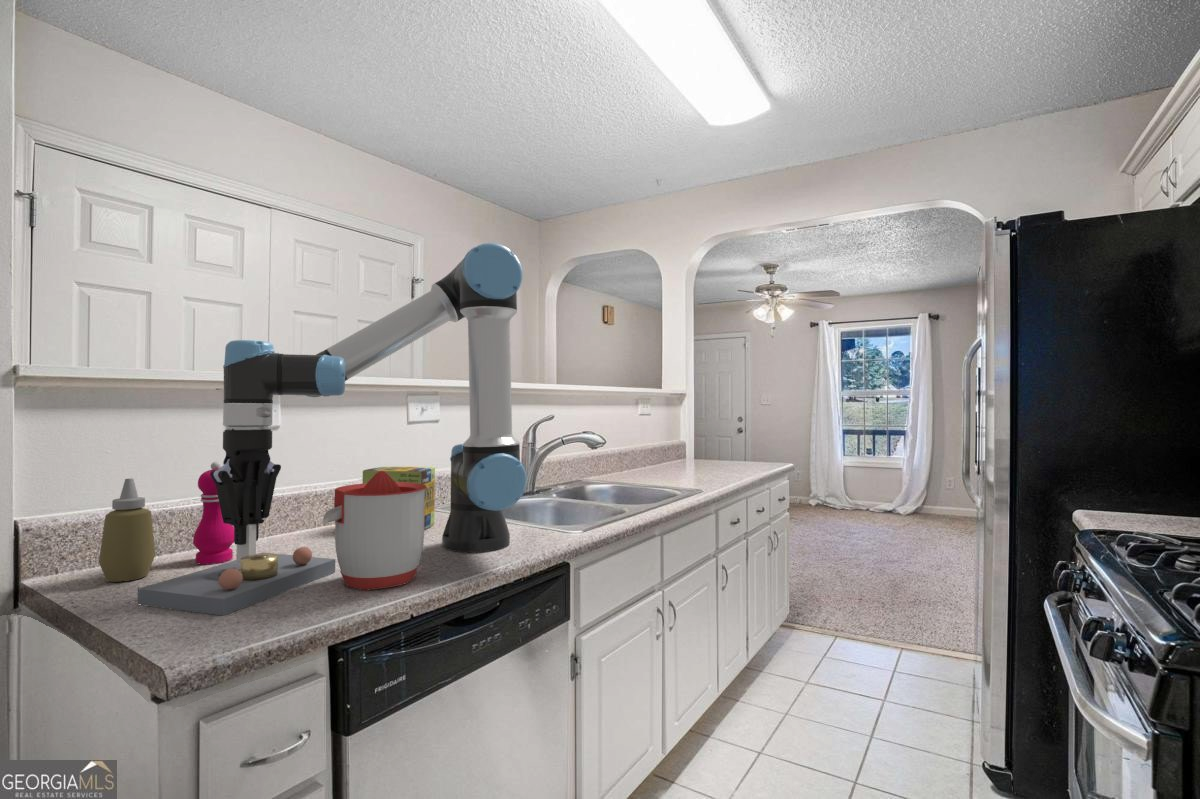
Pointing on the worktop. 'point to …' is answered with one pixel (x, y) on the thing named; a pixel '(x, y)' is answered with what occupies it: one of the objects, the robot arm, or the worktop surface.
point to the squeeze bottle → (127, 538)
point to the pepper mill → (212, 525)
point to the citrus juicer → (378, 531)
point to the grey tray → (211, 598)
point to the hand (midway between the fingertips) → (246, 561)
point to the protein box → (412, 476)
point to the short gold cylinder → (259, 566)
